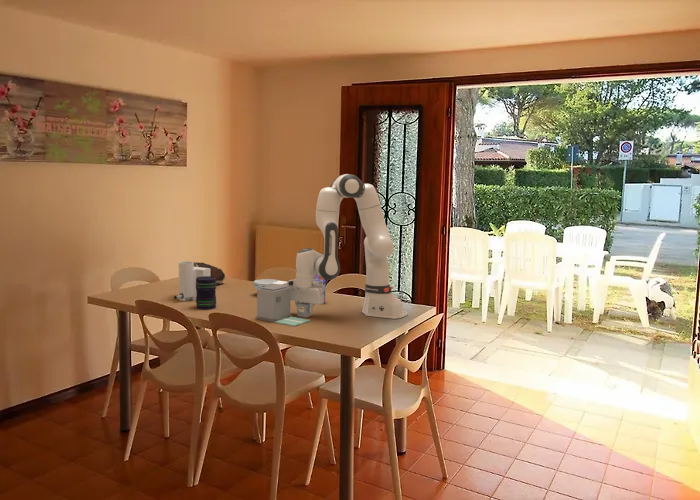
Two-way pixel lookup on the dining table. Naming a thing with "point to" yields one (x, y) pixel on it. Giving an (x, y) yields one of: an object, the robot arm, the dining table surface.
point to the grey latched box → (273, 303)
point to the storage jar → (206, 292)
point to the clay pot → (212, 271)
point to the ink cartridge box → (320, 282)
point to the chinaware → (263, 283)
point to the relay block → (303, 309)
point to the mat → (292, 321)
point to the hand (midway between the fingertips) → (304, 311)
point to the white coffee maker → (189, 280)
